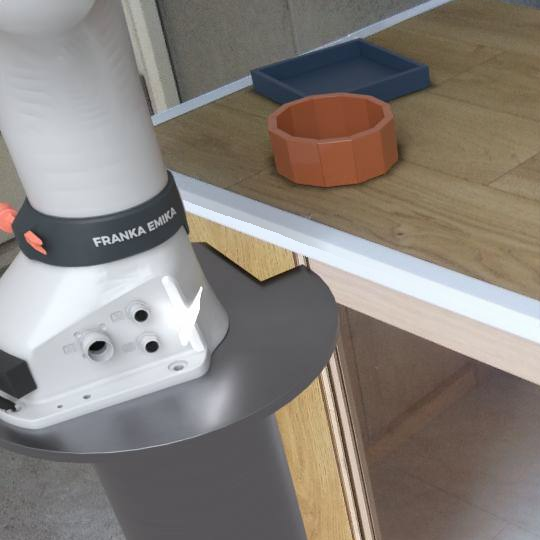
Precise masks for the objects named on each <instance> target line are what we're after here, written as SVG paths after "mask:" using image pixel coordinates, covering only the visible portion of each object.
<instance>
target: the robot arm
mask: <svg viewBox="0 0 540 540" xmlns="http://www.w3.org/2000/svg"><path fill="white" fill-rule="evenodd" d="M131 39H132V38H131V35H130V29H129V26H128V21H127V18H126V14H125V10H124V6H123V3H122V0H0V133H1V136H2V138H3V141H4V143H5V146H6V148H7V150H8V153H9V156H10V158H11V161H12V163H13V166H14V168H15V171H16V172H17V175H18V178H19V180H20V182H21V185H22V188H23V190H24V193H25V195H26V196H25V198H24V200H23V202H22V205H21V207H20V208H19V210H16V209H15V207H13V206H12V205H11V204H9V203H8V202H4V201H3V202H2V201H0V230H1V231H2V232H4V233H7V234H13V236H14V238H15V240H16V242H17V245H18V248H19V249H20V251H19V252H18V254H17V255H16V256H15V258H14V259H13V260H12V262H11V264H10V265H9V266H8V267H7V269H6V270H5V272H4V273H3V274H2V276H1V277H0V419H2V420H3V421H5V422H7V423H10V424H12V425H15V426H18V427H22V428H27V429H41V428H45V427H48V426H51V425H55V424H58V423H61V422H64V421H67V420H70V419H73V418H76V417H79V416H82V415H85V414H88V413H92V412H95V411H98V410H101V409H104V408H107V407H110V406H113V405H116V404H119V403H122V402H125V401H128V400H131V399H135V398H138V397H141V396H144V395H147V394H150V393H153V392H156V391H159V390H162V389H165V388H168V387H171V386H175V385H178V384H181V383H184V382H187V381H190V380H193V379H196V378H199V377H201V376H203V375H204V374H206V373H207V371H208V370H209V367H210V362H211V355H212V353H213V351H214V350H215V349H216V347H217V346H218V345H219V344H220V343H221V341H222V340H223V339H224V337H225V335H226V333H227V331H228V327H229V317H228V314H227V312H226V310H225V309H224V307H223V306H222V304H221V303H220V302H219V300H218V298H217V297H216V295H215V294H214V292H213V290H212V288H211V286H210V285H209V283H208V281H207V279H206V277H205V275H204V273H203V271H202V268H201V266H200V264H199V262H198V259H197V257H196V255H195V252H194V250H193V247H192V245H191V242H192V241H191V240H190V236H189V235H190V226H189V224H188V223H189V222H188V219H187V218H188V217H187V216H188V215H187V211H186V208H185V207H186V206H185V205H184V200H183V198H182V195H181V192H180V190H179V187H178V185H177V183H176V180H175V176H174V174H173V172H172V171H171V170H169V169H167V166H166V163H165V160H164V157H163V153H162V150H161V146H160V144H159V139H158V136H157V132H156V129H155V126H154V121H153V118H152V115H151V112H150V109H149V105H148V102H147V98H146V94H145V92H144V88H143V87H144V86H143V84H142V81H141V76H140V73H139V69H138V64H137V60H136V57H135V52H134V47H133V42H132V40H131Z"/></svg>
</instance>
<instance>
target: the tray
mask: <svg viewBox="0 0 540 540" xmlns="http://www.w3.org/2000/svg"><path fill="white" fill-rule="evenodd" d="M249 72H250V77H251V82H252V86H253V90H254V92H257V93H258V94H260V95H262V96H264V97H266V98H268V99H270V100H272V101H273V102H276V103H278V104H279V105H280V106H282V105H284V104H286V103H289V102H292V101H295V100H298V99H302V98H305V97H308V96H311V95H321V94H331V93H341V92H342V93H351V94H361V95H370V96H373V97H375V98H377V99H379V100H381V101H384V102H386V103H387V102H389V101H392V100H394V99H398V98H400V97H403V96H406V95H409V94H412V93H415V92H418V91H421V90H424V89H426V88H430V87H431V80H430V79H431V77H430V68H429V66H428V65H427V64H424V63H422V62H419V61H417V60H414V59H412V58H410V57H407V56H406V55H403V54H401V53H398V52H395V51H393V50H391V49H389V48H386V47H383V46H381V45H379V44H376V43H373V42H371V41H369V40H367V39H364V38H362V37H357V38H354V39H350V40H347V41H343V42H340V43H337V44H334V45H330V46H327V47H324V48H321V49H317V50H313V51H310V52H307V53H304V54H300V55H297V56H293V57H290V58H286V59H283V60H280V61H277V62H274V63H270V64H267V65H266V64H265V65H264V66H263V65H262V66H260V67H256V68H253V69H250V70H249Z"/></svg>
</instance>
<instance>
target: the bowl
mask: <svg viewBox="0 0 540 540" xmlns="http://www.w3.org/2000/svg"><path fill="white" fill-rule="evenodd" d="M395 126H396V125H395V117H394V114H393V110H392V107H391V104H390V103H387V101H386V102H384V101H381V100H379V99H377V98H375V97H373V96H370V95H361V94H351V93H342V92H341V93H331V94H321V95H311V96H308V97H305V98H302V99H298V100H295V101H292V102H289V103H286V104H284V105H280V106H279V107H278V108H277V109H275V111H273V112H271V114H269V115H268V116H267V129H268V130H267V131H268V135H269V140H270V146H271V149H272V154H273V159H274V163H275V167H276V173H277V174H278V175H280V176H282V177H283V178H285V179H286V180H288V181H291V182H292V183H294V184H297V185H305V186H313V187H319V188H320V187H321V188H331V187H332V188H333V187H340V186H348V185H358V184H362V183H365V182H367V181H370V180H372V179H375V178H377V177H380V176H383V175H385V174H387V173H388V171H389V170H390V169H391V168H392V167H393V166H394V165H395V164H396V163H397V162H398V161H399V158H400V157H399V152H398V143H397V135H396V133H397V132H396V127H395Z"/></svg>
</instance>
